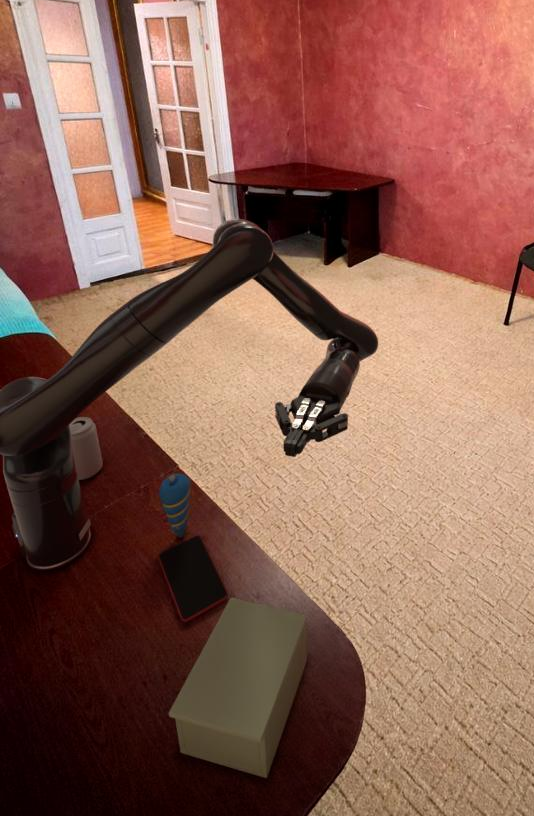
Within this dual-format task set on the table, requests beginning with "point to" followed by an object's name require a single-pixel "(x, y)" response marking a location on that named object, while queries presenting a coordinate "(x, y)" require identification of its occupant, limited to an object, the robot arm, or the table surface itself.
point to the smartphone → (192, 578)
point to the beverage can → (85, 447)
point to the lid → (240, 670)
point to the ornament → (176, 501)
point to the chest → (243, 750)
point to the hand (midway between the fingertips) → (290, 451)
